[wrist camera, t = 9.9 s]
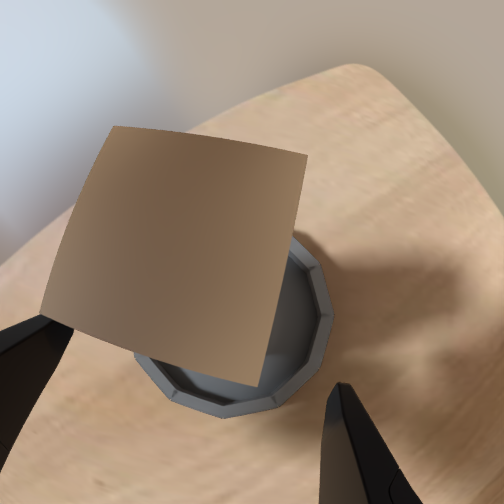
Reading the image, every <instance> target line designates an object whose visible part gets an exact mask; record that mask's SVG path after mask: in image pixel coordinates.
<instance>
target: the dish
mask: <svg viewBox="0 0 504 504" xmlns="http://www.w3.org/2000/svg"><path fill="white" fill-rule="evenodd" d="M333 315H334V311H333V308H332V304H331V300H330V296H329V293H328V289H327V285H326V282H325V278H324V275H323V271H322V268H321V264H320V263H319V262H318V261H317V260H316V259H315V258H314V257H313V256H312V255H311V254H310V253H309V252H308V251H307V250H306V249H305V248H304V247H303V246H302V245H301V244H300V243H299V242H298V241H297V240H296V239H295V238H294V237H293V236H292V239H291V244H290V248H289V253H288V258H287V262H286V267H285V272H284V276H283V281H282V285H281V290H280V294H279V299H278V303H277V308H276V312H275V316H274V321H273V325H272V329H271V333H270V338H269V342H268V346H267V350H266V354H265V359H264V363H263V367H262V371H261V375H260V379H259V383H258V387H254V386H250V385H245V384H241V383H237V382H233V381H229V380H225V379H221V378H217V377H213V376H210V375H206V374H202V373H199V372H195V371H192V370H188V369H185V368H181V367H178V366H175V365H172V364H168V363H165V362H162V361H159V360H156V359H153V358H150V357H147V356H144V355H141V354H138V353H135V352H134V357H135V358H136V361H137V362H138V363H139V364H140V366H141V367H142V368H143V369H144V371H145V372H146V373H147V374H148V375H149V377H150V378H151V379H152V380H153V381H154V383H155V384H156V385H157V386H158V387H159V389H160V390H161V391H162V392H163V393H164V394H165V395H166V397H167V398H168V399H169V400H170V399H171V401H173V402H175V403H178V404H181V405H183V406H186V407H189V408H192V409H195V410H197V411H200V412H203V413H206V414H209V415H212V416H215V417H218V418H221V419H222V418H224V419H226V418H231V417H236V416H242V415H247V414H251V413H256V412H261V411H265V410H270V409H274V408H278V406H279V407H280V406H281V405H282V404H283V403H284V402H285V401H286V400H287V399H288V398H290V397H291V396H292V395H293V394H294V393H295V392H296V391H297V390H298V389H299V388H300V387H301V386H303V385H304V384H305V383H306V382H307V381H308V380H309V379H310V378H311V377H312V376H313V375H314V374H315V373H316V372H317V371H318V370H319V369H318V368H320V366H321V363H322V360H323V356H324V353H325V349H326V346H327V342H328V339H329V335H330V331H331V327H332V324H333V320H334V316H333ZM277 405H278V406H277Z"/></svg>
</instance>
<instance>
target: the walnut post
mask: <svg viewBox="0 0 504 504" xmlns="http://www.w3.org/2000/svg"><path fill="white" fill-rule="evenodd" d="M307 158H308V155H305V154H300V153H296V152H291V151H287V150H282V149H277V148H272V147H267V146H262V145H257V144H251V143H246V142H240V141H235V140H229V139H223V138H216V137H210V136H203V135H196V134H189V133H181V132H173V131H165V130H156V129H146V128H135V127H123V126H113V128H112V129H111V131H110V133H109V135H108V137H107V139H106V141H105V143H104V145H103V147H102V149H101V150H100V152H99V154H98V156H97V158H96V160H95V162H94V165H93V167H92V169H91V171H90V173H89V175H88V177H87V179H86V182H85V184H84V186H83V189H82V191H81V193H80V195H79V198H78V200H77V202H76V205H75V207H74V209H73V212H72V214H71V217H70V219H69V222H68V225H67V227H66V230H65V232H64V235H63V238H62V241H61V243H60V246H59V249H58V252H57V255H56V258H55V261H54V264H53V267H52V270H51V273H50V277H49V280H48V283H47V287H46V290H45V294H44V297H43V301H42V305H41V309H40V314H42V315H44V316H46V317H49V318H51V319H53V320H55V321H57V322H60V323H62V324H64V325H66V326H69V327H71V328H73V329H76V330H78V331H80V332H83V333H85V334H88V335H90V336H93V337H95V338H98V339H100V340H103V341H105V342H108V343H111V344H113V345H116V346H119V347H121V348H124V349H127V350H130V351H132V352H135V353H138V354H141V355H144V356H147V357H150V358H153V359H156V360H159V361H162V362H165V363H168V364H172V365H175V366H178V367H181V368H185V369H188V370H192V371H195V372H199V373H202V374H206V375H210V376H213V377H217V378H221V379H225V380H229V381H233V382H237V383H241V384H245V385H250V386H254V387H258V383H259V379H260V375H261V371H262V367H263V363H264V359H265V354H266V350H267V346H268V342H269V338H270V333H271V329H272V325H273V321H274V316H275V312H276V308H277V303H278V299H279V294H280V290H281V285H282V281H283V276H284V272H285V267H286V262H287V258H288V253H289V248H290V244H291V239H292V234H293V229H294V224H295V219H296V215H297V210H298V205H299V200H300V194H301V189H302V184H303V179H304V174H305V168H306V163H307Z"/></svg>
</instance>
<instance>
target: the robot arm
mask: <svg viewBox="0 0 504 504" xmlns="http://www.w3.org/2000/svg"><path fill="white" fill-rule="evenodd" d="M73 333H74V329H73V328H71V327H69V326H66V325H64V324H62V323H60V322H57V321H55V320H53V319H51V318H49V317H46V316H44V315H42V314H40V315H38V316H35V317H33V318H30V319H28V320H25V321H23V322H21V323H18V324H16V325H13V326H11V327H9V328H6V329H4V330H1V331H0V472H1V470H2V468H3V466H4V464H5V461H6V459H7V457H8V455H9V453H10V451H11V449H12V447H13V445H14V443H15V441H16V439H17V437H18V435H19V433H20V431H21V429H22V427H23V425H24V423H25V422H26V420H27V418H28V416H29V414H30V412H31V411H32V409H33V407H34V405H35V403H36V402H37V400H38V398H39V396H40V395H41V393H42V391H43V389H44V388H45V386H46V384H47V383H48V381H49V379H50V378H51V376H52V374H53V373H54V371H55V369H56V367H57V366H58V364H59V362H60V360H61V357H62V355H63V353H64V351H65V349H66V347H67V345H68V343H69V341H70V339H71V337H72V335H73ZM319 504H423V503H422V502H421V500H420V499H419V497H418V496H417V495H416V493H415V492H414V490H413V489H412V487H411V486H410V484H409V482H408V481H407V479H406V478H405V476H404V474H403V472H402V471H401V469H399V466H398V464H397V462H396V461H395V459H394V457H393V455H392V454H391V452H390V450H389V449H388V447H387V445H386V443H385V442H384V440H383V438H382V437H381V435H380V433H379V432H378V430H377V428H376V426H375V425H374V423H373V421H372V420H371V418H370V416H369V415H368V413H367V411H366V410H365V408H364V406H363V404H362V403H361V401H360V399H359V398H358V396H357V394H356V393H355V391H354V389H353V388H352V386H351V385H350V384H348V383H341V382H338V383H337V384H336V385H335V387H334V388H333V390H332V392H331V394H330V396H329V397H328V400H327V405H326V412H325V420H324V427H323V435H322V442H321V461H320V488H319Z"/></svg>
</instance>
